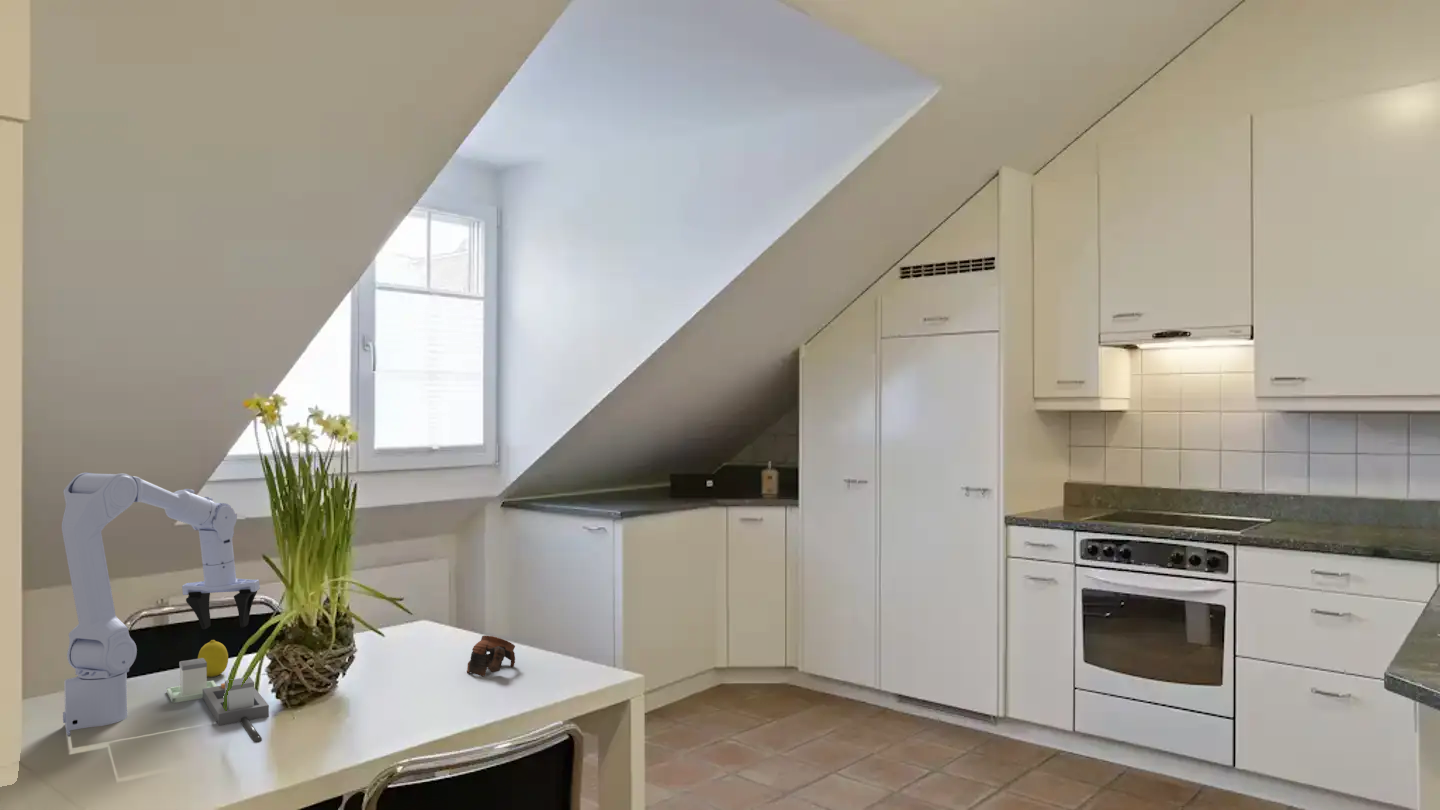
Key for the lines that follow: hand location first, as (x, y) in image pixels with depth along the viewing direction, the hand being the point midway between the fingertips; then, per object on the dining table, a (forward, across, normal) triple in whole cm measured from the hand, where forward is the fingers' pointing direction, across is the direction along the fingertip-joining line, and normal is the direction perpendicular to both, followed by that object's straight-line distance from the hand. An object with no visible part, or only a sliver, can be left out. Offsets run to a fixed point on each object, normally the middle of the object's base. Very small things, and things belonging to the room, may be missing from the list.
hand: (225, 626), depth 197 cm
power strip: (+9, -14, +25) cm, 30 cm away
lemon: (+11, +3, +1) cm, 11 cm away
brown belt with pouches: (+14, -52, -3) cm, 54 cm away
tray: (+10, +1, +12) cm, 16 cm away
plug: (+9, +1, +12) cm, 15 cm away
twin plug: (+8, -13, +24) cm, 29 cm away
